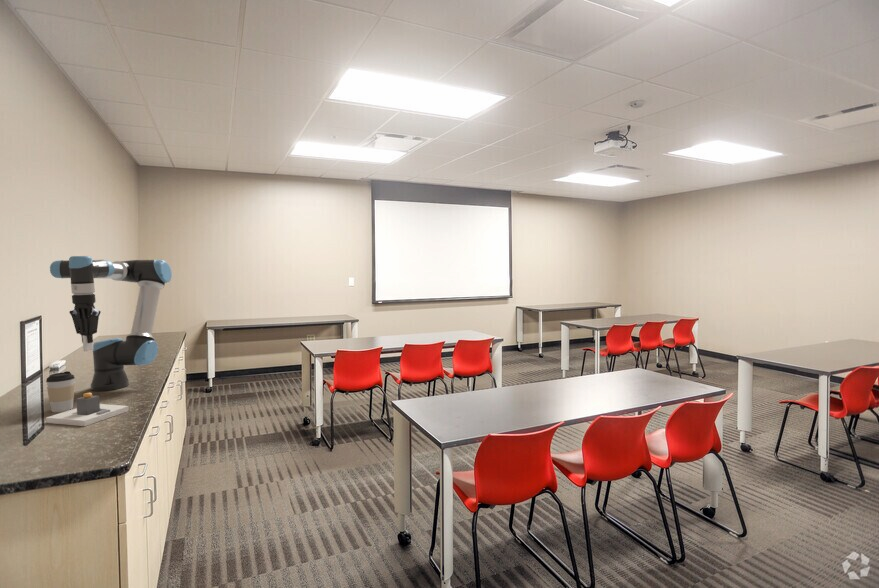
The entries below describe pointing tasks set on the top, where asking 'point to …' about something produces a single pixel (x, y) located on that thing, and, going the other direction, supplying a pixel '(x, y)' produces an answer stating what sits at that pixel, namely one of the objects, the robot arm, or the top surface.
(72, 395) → the coffee cup
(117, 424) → the top surface
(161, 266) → the robot arm
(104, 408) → the socket plate
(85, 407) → the plug
